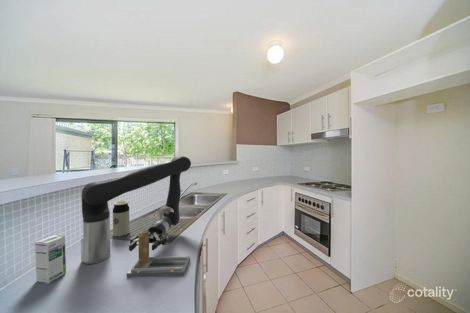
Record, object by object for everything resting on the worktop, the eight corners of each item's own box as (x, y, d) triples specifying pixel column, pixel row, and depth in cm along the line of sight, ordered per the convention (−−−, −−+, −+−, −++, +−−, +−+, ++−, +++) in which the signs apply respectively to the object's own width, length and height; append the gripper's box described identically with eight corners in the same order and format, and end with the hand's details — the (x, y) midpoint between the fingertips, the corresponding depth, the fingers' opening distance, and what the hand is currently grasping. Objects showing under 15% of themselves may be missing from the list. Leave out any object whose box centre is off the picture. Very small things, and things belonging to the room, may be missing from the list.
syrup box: (48, 284, 63) (47, 243, 62) (35, 281, 64) (34, 241, 64) (66, 273, 68) (65, 235, 68) (54, 271, 69) (53, 234, 69)
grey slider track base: (126, 277, 66) (126, 271, 66) (140, 261, 76) (140, 255, 76) (183, 275, 66) (183, 269, 66) (189, 259, 76) (189, 254, 76)
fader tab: (133, 268, 68) (133, 235, 68) (141, 259, 74) (141, 228, 74) (146, 268, 68) (146, 235, 68) (153, 259, 74) (153, 228, 74)
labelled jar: (124, 229, 107) (124, 200, 107) (132, 232, 104) (132, 201, 104) (110, 235, 100) (109, 203, 100) (118, 238, 97) (117, 205, 96)
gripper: (143, 222, 85) (122, 239, 69) (173, 222, 85) (160, 238, 69) (143, 238, 85) (122, 258, 69) (173, 238, 85) (160, 257, 69)
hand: (141, 248), depth 69 cm, fingers open, 8 cm apart
